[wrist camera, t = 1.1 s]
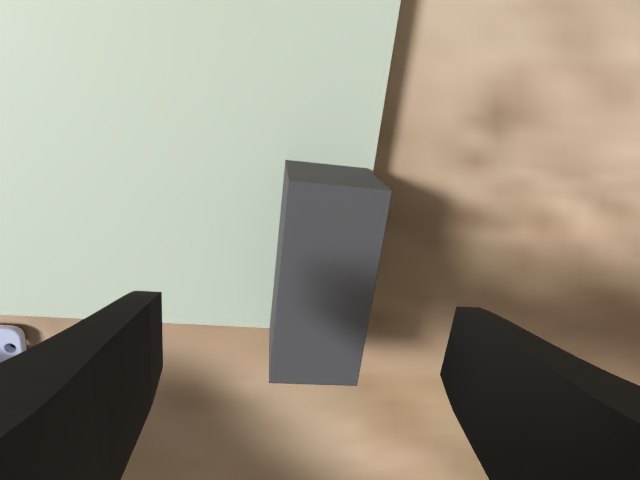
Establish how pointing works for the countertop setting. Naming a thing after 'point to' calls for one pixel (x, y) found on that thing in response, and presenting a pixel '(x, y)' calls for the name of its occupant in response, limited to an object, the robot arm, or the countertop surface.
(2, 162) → the pale green u-shaped slab
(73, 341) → the robot arm
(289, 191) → the tall gray prism
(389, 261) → the countertop surface
